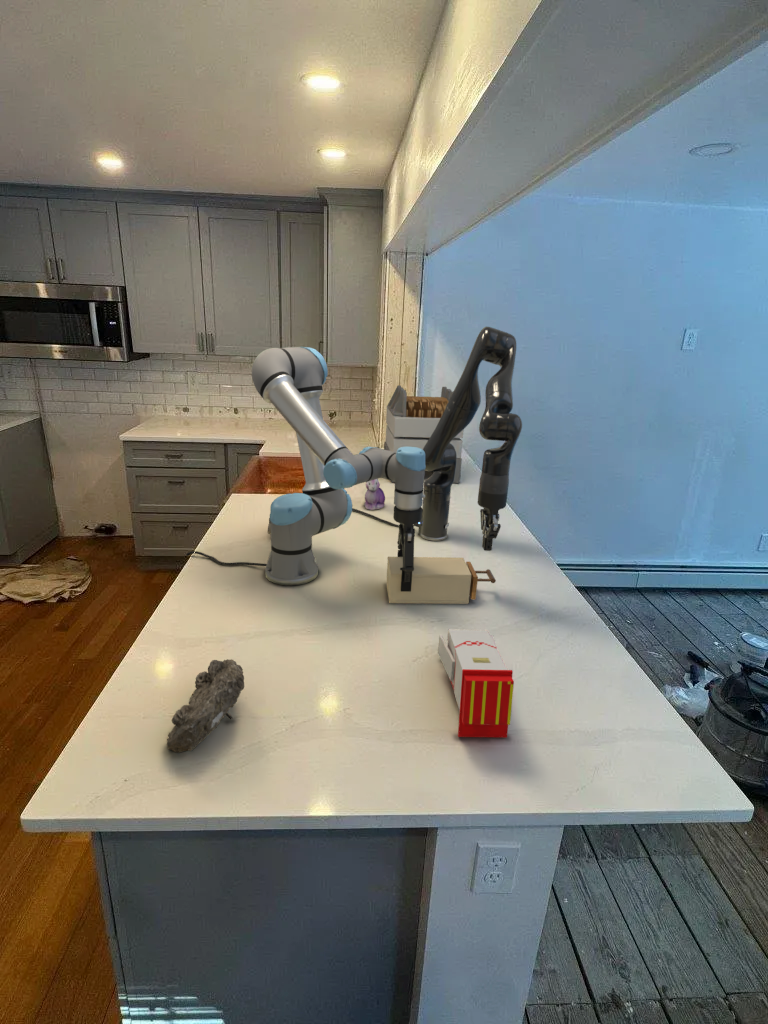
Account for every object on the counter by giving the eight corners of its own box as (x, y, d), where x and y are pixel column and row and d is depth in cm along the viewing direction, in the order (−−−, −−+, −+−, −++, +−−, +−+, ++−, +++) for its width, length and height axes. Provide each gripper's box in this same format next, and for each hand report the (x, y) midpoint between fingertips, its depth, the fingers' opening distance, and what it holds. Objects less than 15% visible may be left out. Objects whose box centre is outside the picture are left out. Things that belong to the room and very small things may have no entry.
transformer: (382, 463, 289) (386, 382, 275) (445, 464, 293) (451, 384, 279) (390, 482, 257) (394, 392, 243) (460, 483, 261) (468, 394, 247)
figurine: (369, 511, 219) (370, 474, 214) (358, 503, 228) (359, 467, 223) (390, 509, 224) (392, 472, 219) (378, 501, 232) (380, 465, 227)
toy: (488, 613, 130) (523, 677, 101) (484, 667, 133) (517, 744, 104) (435, 612, 130) (455, 676, 101) (432, 666, 133) (451, 743, 103)
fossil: (192, 660, 117) (244, 628, 112) (224, 691, 120) (276, 661, 115) (142, 746, 98) (202, 712, 93) (182, 779, 101) (242, 748, 96)
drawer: (487, 583, 164) (489, 561, 162) (495, 599, 155) (498, 577, 153) (397, 582, 162) (399, 560, 160) (401, 599, 153) (402, 576, 151)
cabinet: (460, 585, 165) (463, 557, 162) (468, 603, 154) (471, 574, 151) (386, 584, 163) (387, 556, 160) (389, 603, 153) (390, 573, 150)
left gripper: (428, 522, 139) (422, 601, 146) (416, 492, 161) (412, 562, 168) (397, 521, 138) (393, 601, 146) (390, 492, 160) (387, 562, 168)
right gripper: (514, 497, 143) (506, 559, 149) (500, 481, 156) (493, 539, 162) (485, 496, 143) (478, 559, 148) (473, 480, 155) (468, 539, 161)
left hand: (403, 580), depth 157 cm, fingers closed on cabinet, 11 cm apart
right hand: (486, 548), depth 155 cm, fingers closed
